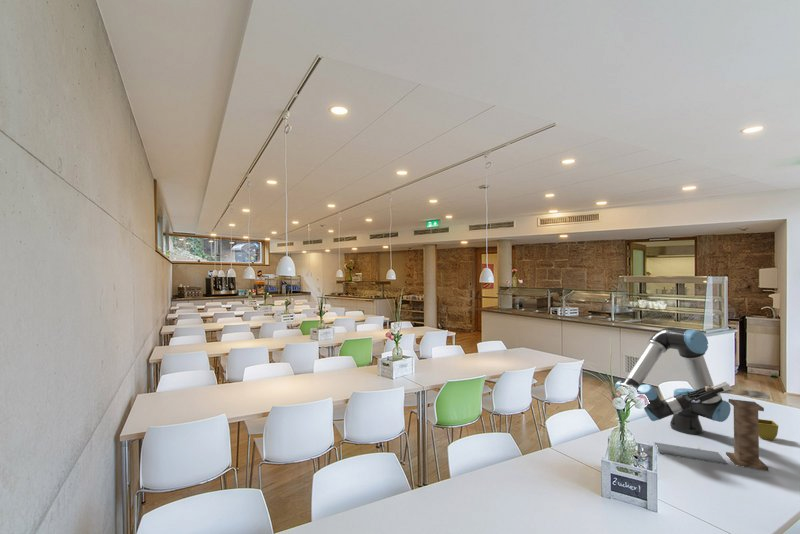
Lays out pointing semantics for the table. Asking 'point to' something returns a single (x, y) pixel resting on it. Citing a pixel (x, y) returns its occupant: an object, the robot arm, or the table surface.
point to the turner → (743, 392)
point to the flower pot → (767, 429)
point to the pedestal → (746, 435)
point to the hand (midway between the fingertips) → (728, 385)
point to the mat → (690, 453)
